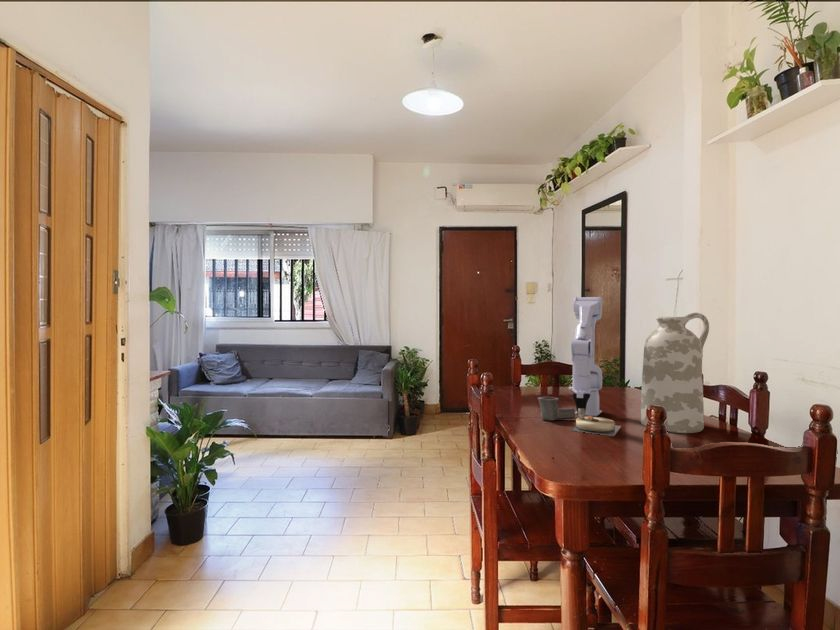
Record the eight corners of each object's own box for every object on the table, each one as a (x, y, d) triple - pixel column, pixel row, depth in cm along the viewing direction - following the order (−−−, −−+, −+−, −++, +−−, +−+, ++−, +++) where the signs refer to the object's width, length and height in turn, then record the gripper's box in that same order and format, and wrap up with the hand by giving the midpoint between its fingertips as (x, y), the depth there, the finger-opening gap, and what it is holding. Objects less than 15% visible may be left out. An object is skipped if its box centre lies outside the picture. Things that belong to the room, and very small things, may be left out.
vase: (644, 431, 151) (644, 312, 151) (637, 418, 169) (637, 312, 168) (716, 436, 145) (717, 312, 144) (701, 422, 162) (702, 312, 162)
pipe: (576, 422, 164) (576, 399, 164) (539, 421, 164) (539, 399, 164) (571, 418, 170) (571, 396, 170) (536, 417, 170) (536, 396, 170)
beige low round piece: (575, 421, 162) (575, 405, 162) (613, 423, 158) (613, 407, 158) (576, 429, 150) (576, 412, 150) (616, 432, 147) (616, 415, 147)
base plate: (581, 422, 163) (581, 421, 163) (621, 426, 156) (621, 426, 156) (571, 430, 151) (571, 430, 151) (614, 436, 145) (614, 435, 145)
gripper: (570, 371, 166) (570, 409, 166) (567, 377, 152) (566, 419, 153) (591, 372, 163) (591, 411, 164) (590, 379, 150) (589, 421, 150)
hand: (581, 415), depth 158 cm, fingers closed, pressing on beige low round piece
